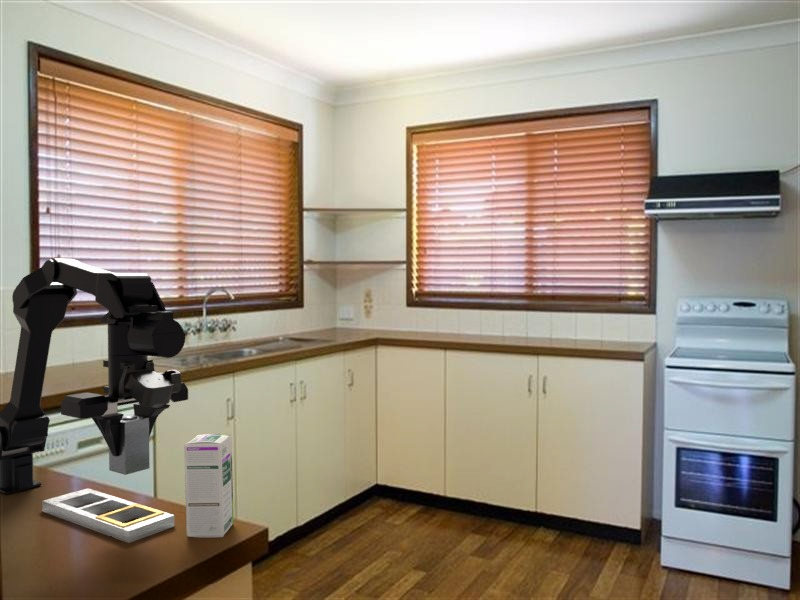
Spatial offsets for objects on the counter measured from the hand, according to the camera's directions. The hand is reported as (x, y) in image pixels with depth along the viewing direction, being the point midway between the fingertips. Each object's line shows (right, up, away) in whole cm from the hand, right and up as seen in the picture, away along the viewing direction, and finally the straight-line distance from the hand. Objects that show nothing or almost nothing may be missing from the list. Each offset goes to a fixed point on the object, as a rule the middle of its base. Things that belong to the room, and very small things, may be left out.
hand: (129, 452), depth 103 cm
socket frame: (-5, -12, +4) cm, 13 cm away
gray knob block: (0, -3, 0) cm, 3 cm away
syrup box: (+13, -12, -1) cm, 18 cm away
